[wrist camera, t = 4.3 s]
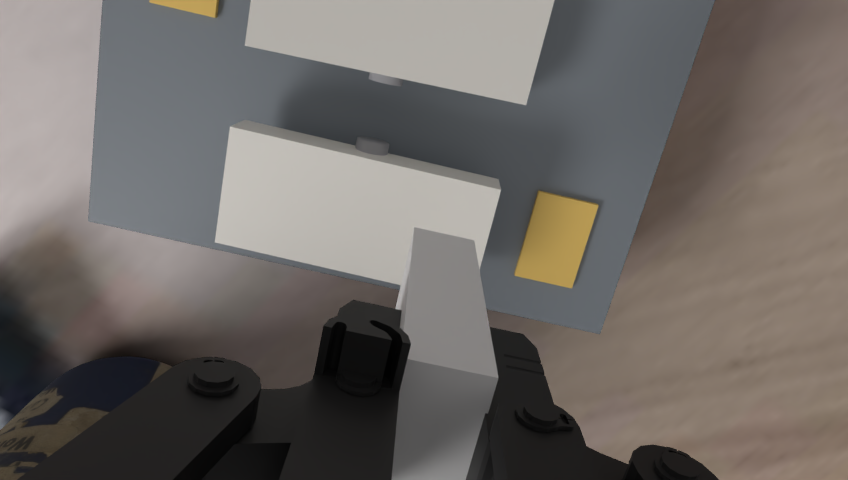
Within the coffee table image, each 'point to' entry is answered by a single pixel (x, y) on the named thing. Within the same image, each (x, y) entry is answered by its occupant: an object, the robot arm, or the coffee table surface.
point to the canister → (71, 409)
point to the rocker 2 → (343, 201)
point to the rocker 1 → (413, 40)
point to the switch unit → (407, 134)
